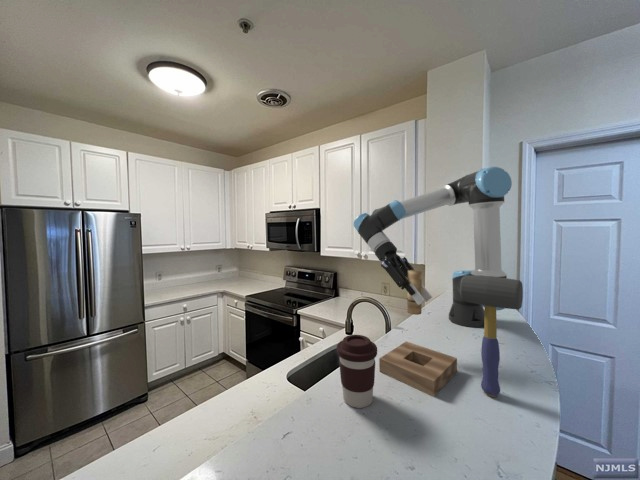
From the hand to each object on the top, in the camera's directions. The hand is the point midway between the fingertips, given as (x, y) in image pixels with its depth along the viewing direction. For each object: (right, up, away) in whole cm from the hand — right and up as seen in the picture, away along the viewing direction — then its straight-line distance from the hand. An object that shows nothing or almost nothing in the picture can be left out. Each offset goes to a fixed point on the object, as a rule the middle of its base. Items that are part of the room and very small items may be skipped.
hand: (425, 301), depth 80 cm
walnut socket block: (-5, -19, -6) cm, 21 cm away
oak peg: (-2, -5, +3) cm, 6 cm away
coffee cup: (-24, -20, -18) cm, 36 cm away
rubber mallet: (+9, -20, -17) cm, 28 cm away
